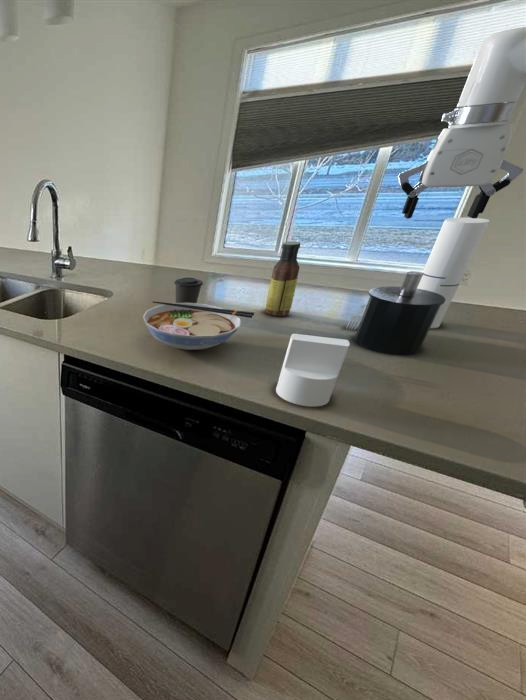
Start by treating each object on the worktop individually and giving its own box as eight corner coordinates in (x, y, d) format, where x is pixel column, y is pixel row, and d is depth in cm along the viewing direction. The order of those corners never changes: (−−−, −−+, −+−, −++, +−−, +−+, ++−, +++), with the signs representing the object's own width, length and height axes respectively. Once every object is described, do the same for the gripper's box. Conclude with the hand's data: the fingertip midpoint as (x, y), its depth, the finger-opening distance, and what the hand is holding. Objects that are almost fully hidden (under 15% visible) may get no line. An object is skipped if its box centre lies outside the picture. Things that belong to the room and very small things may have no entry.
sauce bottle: (288, 310, 118) (307, 240, 108) (289, 318, 113) (309, 245, 103) (263, 308, 121) (279, 239, 111) (263, 316, 116) (280, 244, 106)
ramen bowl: (121, 350, 104) (123, 321, 100) (157, 321, 119) (160, 294, 115) (224, 374, 90) (231, 341, 86) (251, 338, 105) (258, 308, 100)
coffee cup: (196, 317, 119) (201, 284, 114) (167, 314, 123) (171, 281, 118) (201, 308, 125) (206, 276, 120) (174, 305, 129) (178, 274, 124)
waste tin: (413, 337, 97) (434, 291, 92) (424, 358, 89) (448, 308, 83) (352, 331, 103) (368, 287, 97) (357, 350, 95) (375, 303, 89)
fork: (374, 315, 116) (378, 306, 114) (356, 330, 103) (360, 320, 102) (362, 313, 117) (366, 304, 116) (343, 328, 105) (347, 317, 104)
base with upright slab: (274, 400, 80) (290, 345, 74) (277, 379, 86) (291, 327, 80) (330, 410, 76) (351, 353, 70) (328, 388, 82) (347, 334, 76)
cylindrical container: (404, 316, 108) (446, 216, 96) (441, 321, 104) (490, 218, 91) (399, 324, 104) (442, 221, 92) (437, 330, 100) (488, 223, 87)
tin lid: (435, 293, 92) (447, 266, 89) (450, 312, 83) (464, 283, 80) (364, 289, 98) (373, 263, 95) (371, 306, 89) (381, 278, 86)
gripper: (421, 122, 75) (386, 220, 83) (561, 110, 66) (506, 220, 75) (413, 122, 80) (381, 214, 89) (541, 111, 72) (492, 214, 80)
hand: (438, 217), depth 82 cm, fingers open, 9 cm apart
